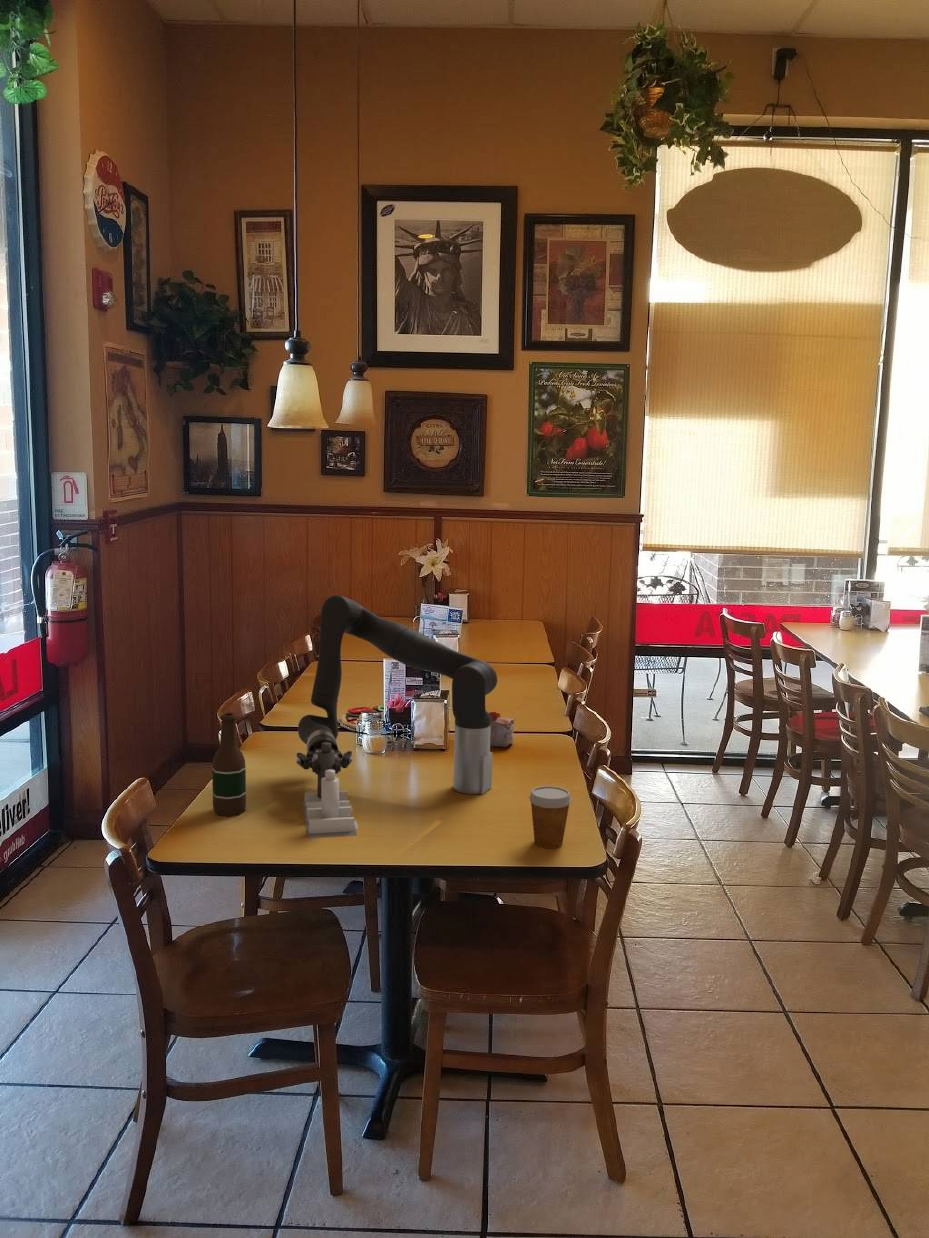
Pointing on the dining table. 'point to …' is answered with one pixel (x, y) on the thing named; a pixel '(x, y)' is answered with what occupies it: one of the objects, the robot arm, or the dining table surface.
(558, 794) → the disposable coffee cup
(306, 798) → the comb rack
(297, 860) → the dining table surface
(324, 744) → the dark grey bottle
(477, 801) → the dining table surface
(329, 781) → the white bottle
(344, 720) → the toy pizza
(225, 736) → the beer bottle
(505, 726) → the food item
